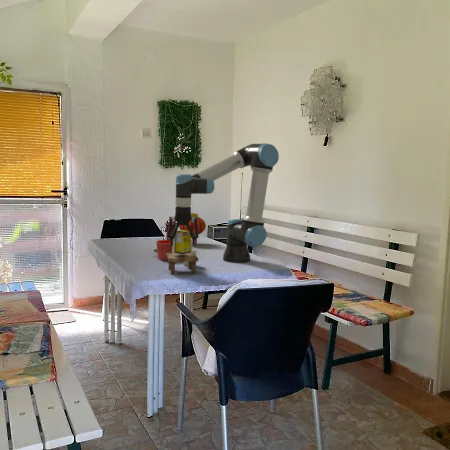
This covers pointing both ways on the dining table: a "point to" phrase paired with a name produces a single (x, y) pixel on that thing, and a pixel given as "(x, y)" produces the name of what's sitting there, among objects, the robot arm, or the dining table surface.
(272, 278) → the dining table surface
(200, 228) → the lantern
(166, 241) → the flower pot
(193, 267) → the footstool
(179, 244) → the supplement box
